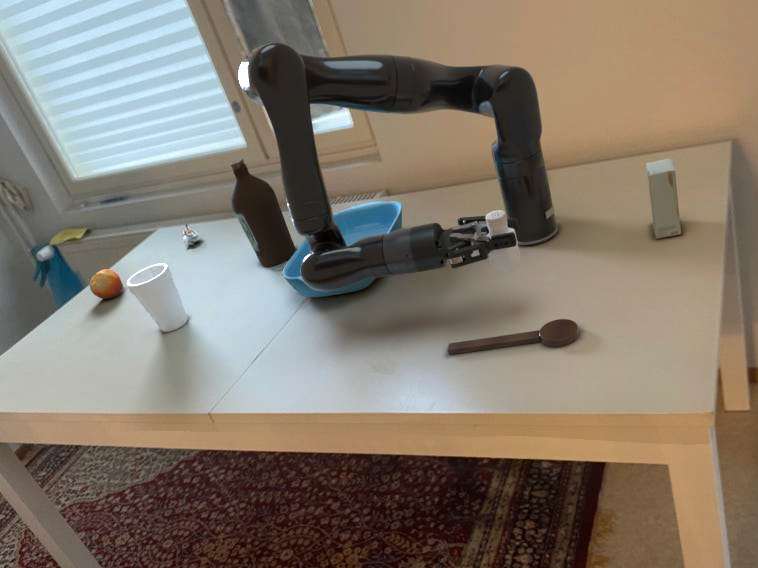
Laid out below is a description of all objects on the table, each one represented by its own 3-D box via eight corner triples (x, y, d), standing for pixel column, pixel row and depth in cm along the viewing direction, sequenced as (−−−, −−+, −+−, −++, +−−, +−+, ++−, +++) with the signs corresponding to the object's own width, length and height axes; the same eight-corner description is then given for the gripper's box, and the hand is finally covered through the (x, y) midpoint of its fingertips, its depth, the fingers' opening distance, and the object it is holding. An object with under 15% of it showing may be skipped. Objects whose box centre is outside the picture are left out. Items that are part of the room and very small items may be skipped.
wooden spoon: (447, 362, 114) (445, 356, 113) (451, 341, 118) (449, 335, 118) (579, 344, 107) (578, 337, 106) (578, 322, 112) (577, 316, 111)
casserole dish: (334, 234, 174) (324, 208, 170) (418, 219, 166) (410, 191, 162) (280, 316, 146) (267, 286, 142) (378, 302, 138) (367, 270, 134)
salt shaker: (513, 273, 113) (501, 220, 108) (491, 272, 116) (478, 220, 110) (522, 260, 116) (511, 208, 111) (501, 260, 118) (489, 209, 113)
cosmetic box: (681, 235, 124) (676, 170, 117) (655, 239, 125) (648, 175, 119) (677, 219, 129) (671, 156, 122) (652, 224, 130) (645, 161, 124)
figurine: (192, 247, 199) (182, 228, 196) (182, 247, 202) (172, 228, 199) (204, 238, 203) (195, 219, 199) (194, 238, 205) (185, 220, 202)
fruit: (134, 278, 188) (111, 263, 182) (125, 304, 186) (101, 291, 179) (114, 279, 192) (90, 265, 186) (105, 305, 190) (80, 292, 183)
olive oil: (292, 242, 179) (252, 148, 166) (303, 254, 170) (262, 156, 157) (254, 259, 177) (211, 166, 164) (263, 272, 168) (218, 174, 155)
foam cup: (158, 340, 154) (129, 290, 147) (152, 326, 162) (123, 278, 155) (198, 320, 156) (171, 270, 149) (190, 307, 164) (163, 259, 157)
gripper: (401, 249, 109) (509, 229, 104) (416, 211, 121) (514, 191, 115) (414, 290, 113) (518, 273, 108) (427, 249, 125) (523, 232, 119)
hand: (516, 231), depth 112 cm, fingers closed on salt shaker, 4 cm apart
